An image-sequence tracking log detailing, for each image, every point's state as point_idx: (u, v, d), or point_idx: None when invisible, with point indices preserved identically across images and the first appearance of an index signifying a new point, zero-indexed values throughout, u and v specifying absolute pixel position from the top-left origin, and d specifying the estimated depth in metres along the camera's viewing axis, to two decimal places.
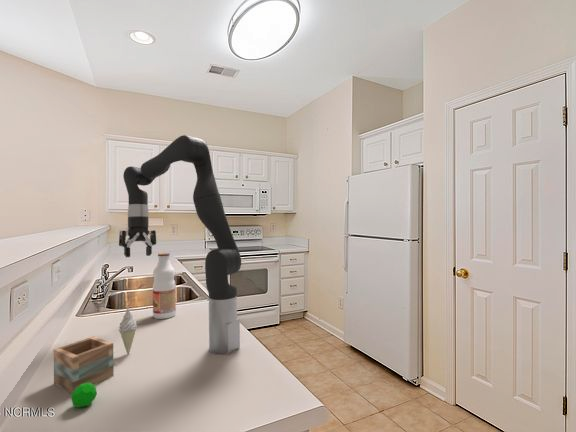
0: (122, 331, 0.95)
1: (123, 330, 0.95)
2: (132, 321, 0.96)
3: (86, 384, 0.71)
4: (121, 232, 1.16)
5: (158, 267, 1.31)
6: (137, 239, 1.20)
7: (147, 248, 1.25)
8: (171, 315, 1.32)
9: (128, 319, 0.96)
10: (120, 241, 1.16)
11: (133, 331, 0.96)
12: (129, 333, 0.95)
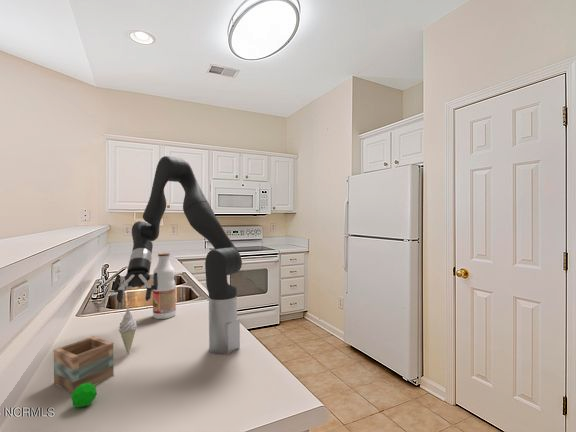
0: (122, 331, 0.95)
1: (123, 330, 0.95)
2: (132, 321, 0.96)
3: (86, 384, 0.71)
4: None
5: (158, 267, 1.31)
6: (132, 282, 1.08)
7: None
8: (171, 315, 1.32)
9: (128, 319, 0.96)
10: None
11: (133, 331, 0.96)
12: (129, 333, 0.95)
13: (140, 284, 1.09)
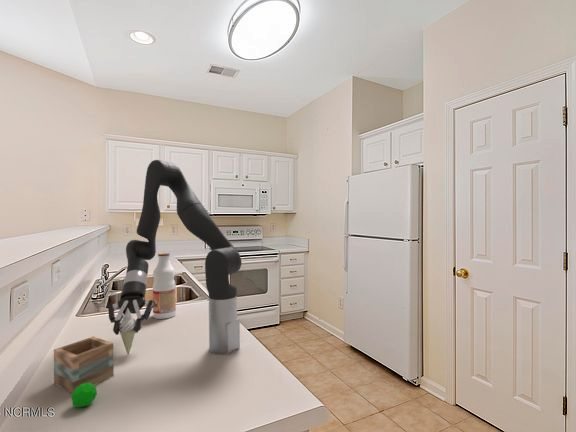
0: (122, 331, 0.95)
1: (123, 330, 0.95)
2: (132, 321, 0.96)
3: (86, 384, 0.71)
4: None
5: (158, 267, 1.31)
6: (128, 308, 0.99)
7: None
8: (171, 315, 1.32)
9: (128, 319, 0.96)
10: None
11: (133, 331, 0.96)
12: (129, 333, 0.95)
13: (132, 311, 1.00)
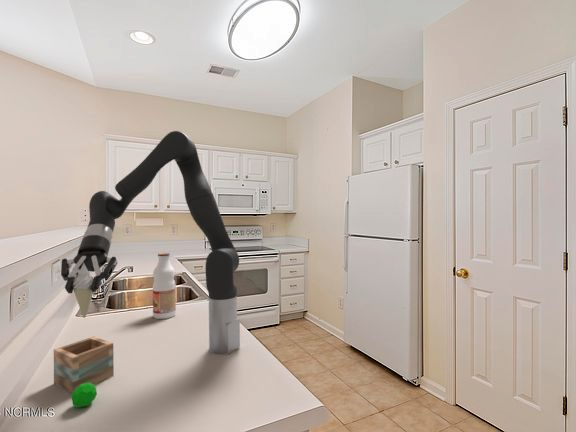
0: (76, 289, 0.80)
1: (77, 288, 0.80)
2: (89, 278, 0.81)
3: (86, 384, 0.71)
4: None
5: (158, 267, 1.31)
6: (86, 265, 0.85)
7: None
8: (171, 315, 1.32)
9: (84, 276, 0.81)
10: None
11: (90, 290, 0.81)
12: (84, 292, 0.80)
13: (90, 268, 0.85)
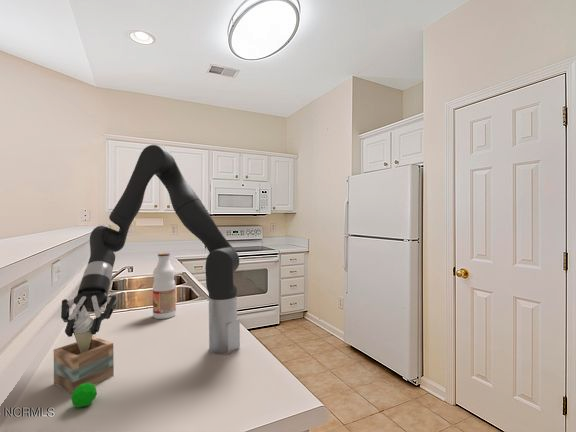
0: (76, 332, 0.80)
1: (77, 331, 0.80)
2: (89, 321, 0.81)
3: (86, 384, 0.71)
4: None
5: (158, 267, 1.31)
6: (86, 305, 0.84)
7: None
8: (171, 315, 1.32)
9: (84, 318, 0.81)
10: None
11: (90, 332, 0.81)
12: (84, 335, 0.80)
13: (90, 309, 0.85)
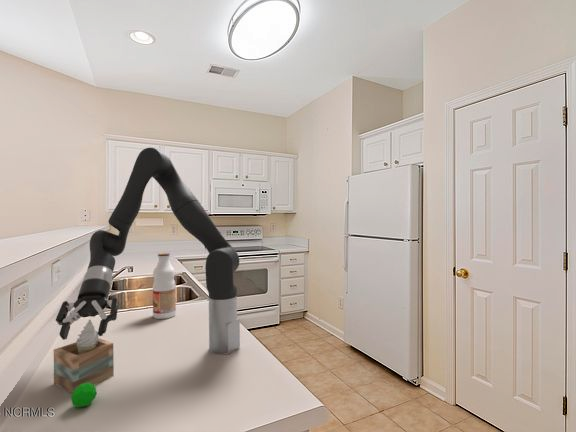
0: (79, 345, 0.78)
1: (80, 344, 0.78)
2: (93, 335, 0.80)
3: (86, 384, 0.71)
4: None
5: (158, 267, 1.31)
6: (83, 311, 0.84)
7: None
8: (171, 315, 1.32)
9: (88, 333, 0.79)
10: None
11: (93, 346, 0.80)
12: (87, 349, 0.79)
13: (93, 313, 0.85)
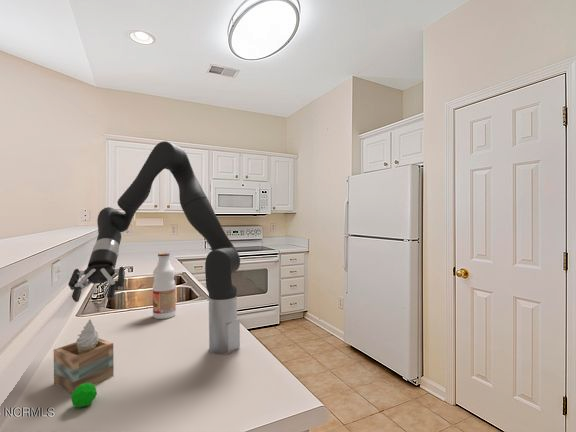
0: (79, 345, 0.78)
1: (80, 344, 0.78)
2: (93, 335, 0.80)
3: (86, 384, 0.71)
4: None
5: (158, 267, 1.31)
6: (93, 277, 0.92)
7: None
8: (171, 315, 1.32)
9: (88, 333, 0.79)
10: None
11: (93, 346, 0.80)
12: (87, 349, 0.79)
13: (102, 280, 0.92)
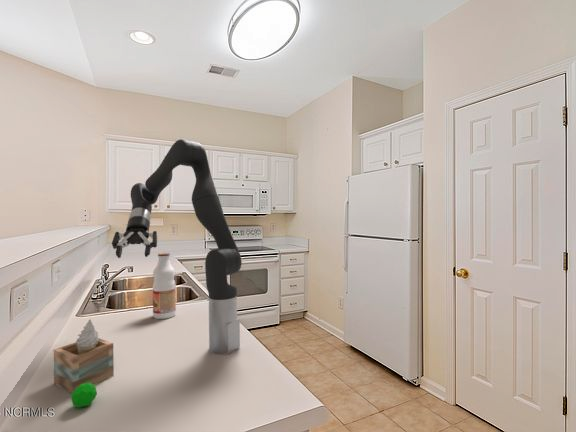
0: (79, 345, 0.78)
1: (80, 344, 0.78)
2: (93, 335, 0.80)
3: (86, 384, 0.71)
4: None
5: (158, 267, 1.31)
6: (132, 239, 1.07)
7: None
8: (171, 315, 1.32)
9: (88, 333, 0.79)
10: None
11: (93, 346, 0.80)
12: (87, 349, 0.79)
13: (139, 241, 1.08)
